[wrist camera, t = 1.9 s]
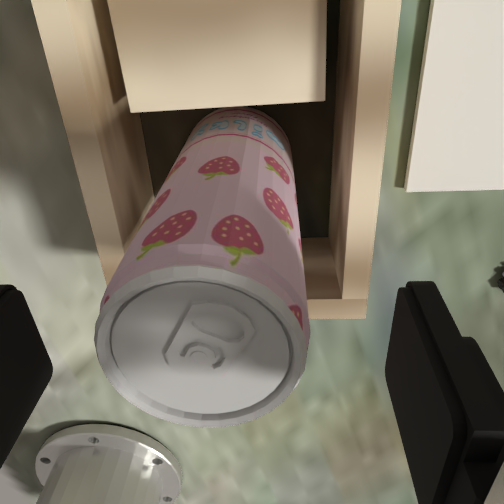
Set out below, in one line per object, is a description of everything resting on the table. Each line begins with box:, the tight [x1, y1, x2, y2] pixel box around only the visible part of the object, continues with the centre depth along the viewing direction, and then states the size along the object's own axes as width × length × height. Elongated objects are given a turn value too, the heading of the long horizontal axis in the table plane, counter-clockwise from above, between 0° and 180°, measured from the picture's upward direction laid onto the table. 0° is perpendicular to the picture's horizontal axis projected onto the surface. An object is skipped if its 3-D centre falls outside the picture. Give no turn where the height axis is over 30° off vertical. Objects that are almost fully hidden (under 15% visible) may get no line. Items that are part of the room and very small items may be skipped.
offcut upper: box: [107, 0, 327, 113], centre depth 17 cm, size 6×8×2 cm
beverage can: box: [94, 106, 310, 427], centre depth 17 cm, size 6×6×15 cm
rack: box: [31, 0, 401, 319], centre depth 19 cm, size 19×12×6 cm, turn 3°
